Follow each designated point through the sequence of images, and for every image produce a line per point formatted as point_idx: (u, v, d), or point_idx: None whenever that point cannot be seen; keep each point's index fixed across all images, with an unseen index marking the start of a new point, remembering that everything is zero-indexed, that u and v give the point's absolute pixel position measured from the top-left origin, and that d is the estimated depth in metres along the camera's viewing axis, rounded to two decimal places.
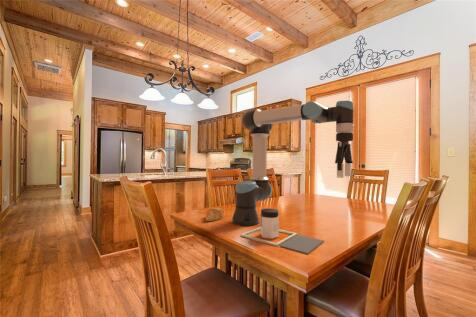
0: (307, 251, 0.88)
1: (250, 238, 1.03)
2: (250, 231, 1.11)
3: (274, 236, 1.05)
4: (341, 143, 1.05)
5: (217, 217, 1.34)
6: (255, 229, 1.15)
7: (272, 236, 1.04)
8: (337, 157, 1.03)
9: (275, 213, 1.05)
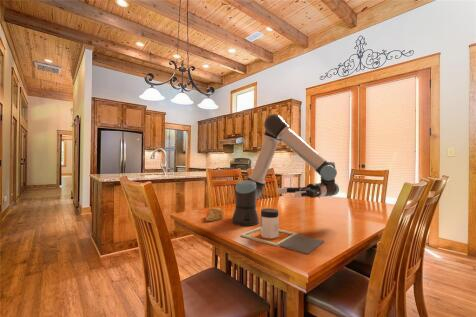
0: (307, 251, 0.88)
1: (250, 238, 1.03)
2: (250, 231, 1.11)
3: (274, 236, 1.05)
4: (318, 193, 1.15)
5: (217, 217, 1.34)
6: (255, 229, 1.15)
7: (272, 236, 1.04)
8: (314, 193, 1.09)
9: (275, 213, 1.05)
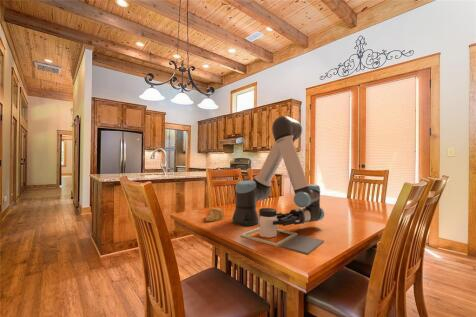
0: (307, 251, 0.88)
1: (250, 238, 1.03)
2: (250, 231, 1.11)
3: (272, 235, 1.05)
4: (298, 221, 1.08)
5: (217, 217, 1.34)
6: (255, 229, 1.15)
7: (270, 235, 1.05)
8: (286, 222, 1.05)
9: (273, 212, 1.06)
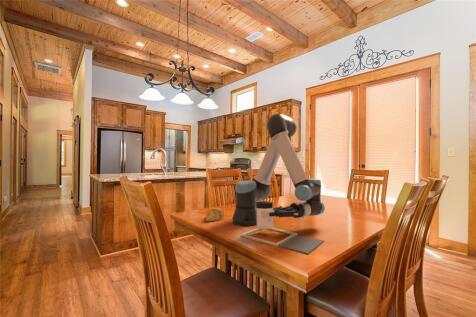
0: (307, 251, 0.88)
1: (250, 238, 1.03)
2: (250, 231, 1.11)
3: (269, 227, 1.07)
4: (296, 215, 1.08)
5: (217, 217, 1.34)
6: (255, 229, 1.15)
7: (267, 227, 1.06)
8: (283, 213, 1.06)
9: (269, 204, 1.08)
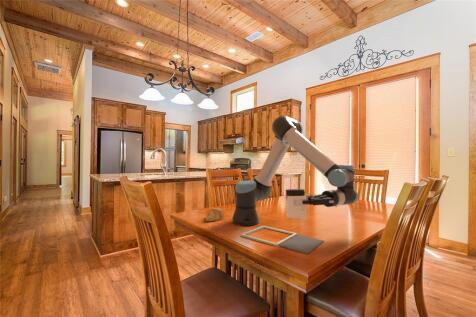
0: (307, 251, 0.88)
1: (250, 238, 1.03)
2: (250, 231, 1.11)
3: (302, 216, 0.97)
4: (332, 202, 0.98)
5: (217, 217, 1.33)
6: (255, 229, 1.15)
7: (300, 216, 0.96)
8: (318, 201, 0.96)
9: (301, 191, 0.98)
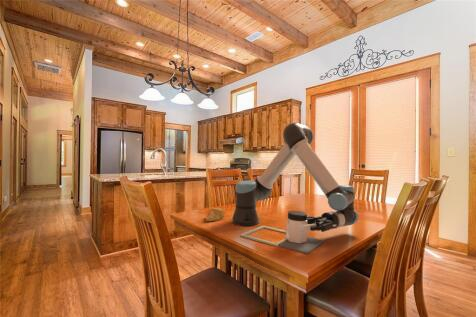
0: (307, 251, 0.88)
1: (250, 238, 1.03)
2: (250, 231, 1.11)
3: (302, 241, 0.97)
4: (335, 226, 0.98)
5: (217, 217, 1.33)
6: (255, 229, 1.15)
7: (300, 241, 0.96)
8: (325, 227, 0.94)
9: (304, 216, 0.97)
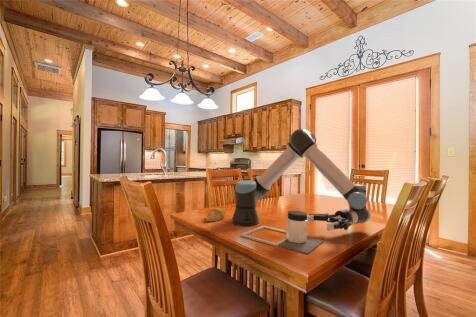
0: (307, 251, 0.88)
1: (250, 238, 1.03)
2: (250, 231, 1.11)
3: (302, 241, 0.97)
4: (351, 223, 1.02)
5: (218, 217, 1.33)
6: (255, 229, 1.15)
7: (300, 241, 0.96)
8: (347, 225, 0.97)
9: (304, 216, 0.97)
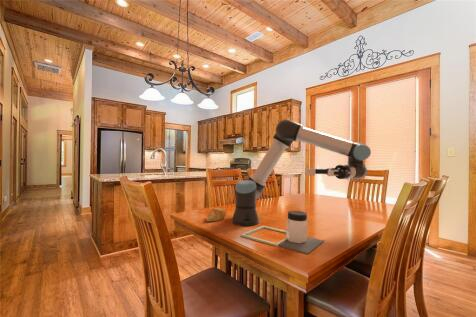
0: (307, 251, 0.88)
1: (250, 238, 1.03)
2: (250, 231, 1.11)
3: (302, 241, 0.97)
4: (349, 173, 1.12)
5: (218, 218, 1.33)
6: (255, 229, 1.15)
7: (300, 241, 0.96)
8: (346, 172, 1.07)
9: (304, 216, 0.97)
